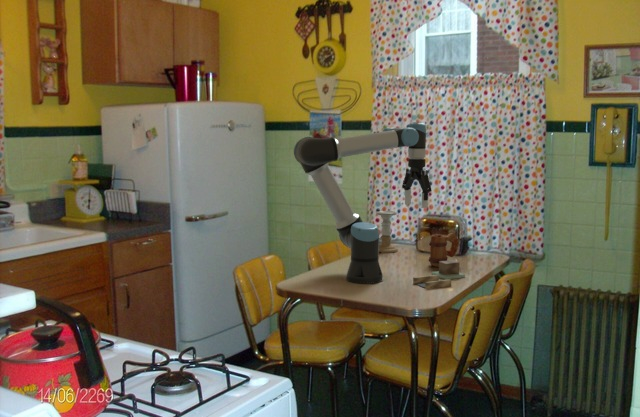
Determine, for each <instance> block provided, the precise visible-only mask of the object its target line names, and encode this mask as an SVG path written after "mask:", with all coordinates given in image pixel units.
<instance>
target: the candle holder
mask: <svg viewBox="0 0 640 417" xmlns="http://www.w3.org/2000/svg"><path fill="white" fill-rule="evenodd" d="M375 213H376V215H377V216H380V218H382V222H381V226H382V227H381V231H380V235H381V236H379V239H380V240H381V243H380V244H379V253H380V252H381V253H383V254H392V253H397V252H398V250H399V249H398V247H396V246H395V245H393V244H391V240H392V239H393V238H392V236H391V235H392V229H391V225H392V222H391V221H390V220H391V219H392V216H396V215H397V212H396V211H391V210H381V211H376V212H375Z"/></svg>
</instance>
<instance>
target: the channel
mask: <svg viewBox="0 0 640 417" xmlns="http://www.w3.org/2000/svg"><path fill="white" fill-rule="evenodd" d="M439 278H440V277H439V275H432V274H431V275H426V276H425V275H424V276H417V277H416V276H415V277H413V279H412V283H413V284H412V285H416V286H419V287H421V288H423V289H426V290H427V289H436V288H444V287H445V288H446V287H451V286H452V279H446V280H445V279H442V280H440V279H439Z"/></svg>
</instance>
